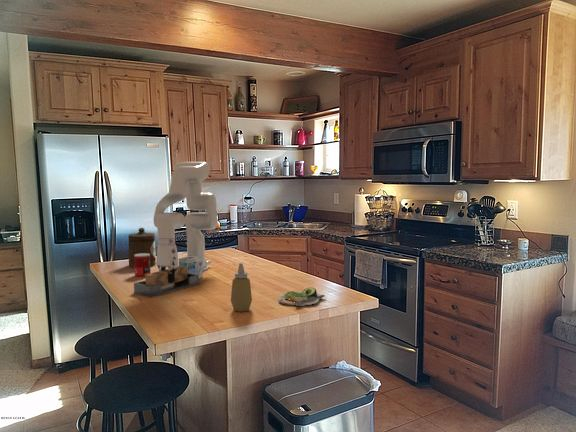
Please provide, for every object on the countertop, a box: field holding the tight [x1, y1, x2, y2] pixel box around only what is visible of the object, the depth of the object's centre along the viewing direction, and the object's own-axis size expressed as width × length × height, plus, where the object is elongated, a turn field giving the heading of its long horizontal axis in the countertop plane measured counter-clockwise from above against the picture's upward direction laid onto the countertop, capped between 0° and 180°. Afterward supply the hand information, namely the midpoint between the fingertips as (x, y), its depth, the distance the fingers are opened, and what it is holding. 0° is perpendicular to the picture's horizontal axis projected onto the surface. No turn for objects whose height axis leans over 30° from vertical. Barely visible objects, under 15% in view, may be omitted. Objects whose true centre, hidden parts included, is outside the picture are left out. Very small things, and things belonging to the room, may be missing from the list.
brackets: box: [133, 273, 200, 298], centre depth 195 cm, size 27×12×4 cm, turn 144°
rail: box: [144, 265, 187, 287], centre depth 194 cm, size 22×4×6 cm, turn 153°
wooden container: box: [127, 227, 157, 269], centre depth 248 cm, size 15×15×22 cm
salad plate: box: [277, 286, 326, 307], centre depth 174 cm, size 19×18×5 cm
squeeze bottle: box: [230, 262, 253, 312], centre depth 162 cm, size 8×8×18 cm
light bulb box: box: [178, 255, 204, 279], centre depth 215 cm, size 11×7×11 cm, turn 148°
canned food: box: [134, 253, 152, 278], centre depth 222 cm, size 8×8×11 cm
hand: (167, 280), depth 194 cm, fingers closed on rail, 5 cm apart
